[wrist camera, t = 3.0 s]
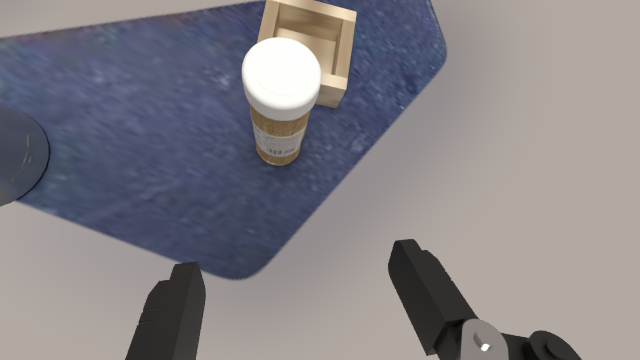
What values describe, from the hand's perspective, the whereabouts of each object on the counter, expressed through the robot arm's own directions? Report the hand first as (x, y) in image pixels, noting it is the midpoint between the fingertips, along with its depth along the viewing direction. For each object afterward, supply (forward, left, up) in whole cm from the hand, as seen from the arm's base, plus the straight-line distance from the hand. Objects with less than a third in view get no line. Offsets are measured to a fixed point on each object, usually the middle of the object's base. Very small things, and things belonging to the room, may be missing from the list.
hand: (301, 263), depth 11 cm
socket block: (-1, +20, -16) cm, 25 cm away
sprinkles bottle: (-2, +10, -16) cm, 19 cm away
